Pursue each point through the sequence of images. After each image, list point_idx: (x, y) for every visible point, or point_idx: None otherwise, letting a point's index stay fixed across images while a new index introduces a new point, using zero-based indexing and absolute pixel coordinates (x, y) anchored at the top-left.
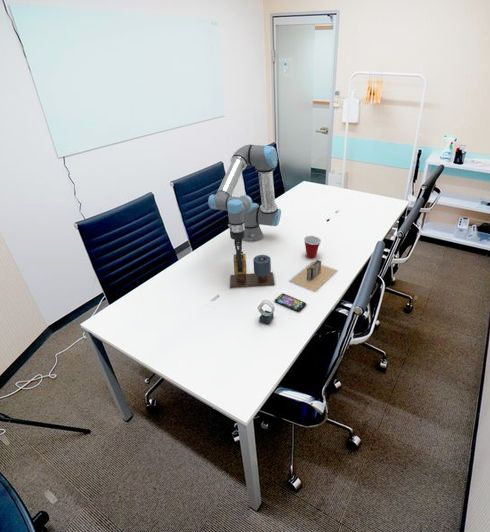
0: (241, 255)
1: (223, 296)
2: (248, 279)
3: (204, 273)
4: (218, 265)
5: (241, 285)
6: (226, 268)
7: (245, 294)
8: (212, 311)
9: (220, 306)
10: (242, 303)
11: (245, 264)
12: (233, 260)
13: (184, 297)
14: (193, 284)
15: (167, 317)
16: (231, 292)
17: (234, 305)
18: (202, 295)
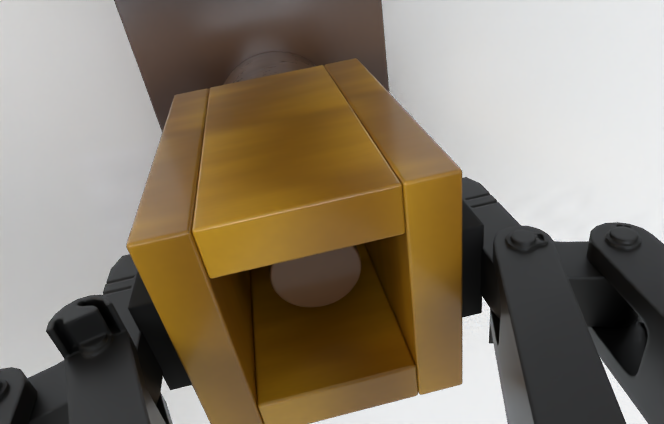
0: (222, 305)
1: (503, 205)
2: (270, 21)
3: (190, 411)
4: (27, 368)
5: (388, 85)
6: (55, 296)
7: (505, 13)
8: (658, 228)
9: (621, 193)
10: (637, 19)
11: (412, 125)
12: (460, 383)
13: (476, 407)
14: (340, 417)
15: (629, 407)
16: (456, 156)
17: (642, 89)
18: (469, 334)
